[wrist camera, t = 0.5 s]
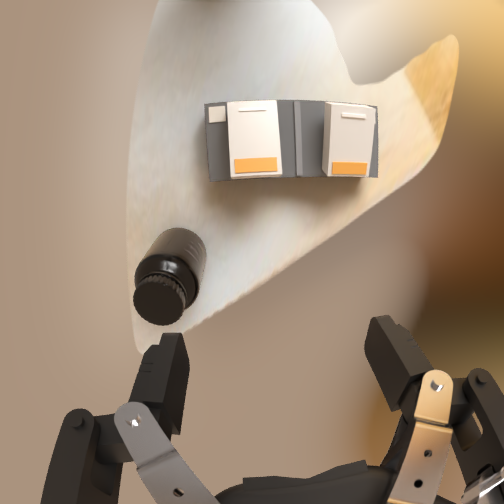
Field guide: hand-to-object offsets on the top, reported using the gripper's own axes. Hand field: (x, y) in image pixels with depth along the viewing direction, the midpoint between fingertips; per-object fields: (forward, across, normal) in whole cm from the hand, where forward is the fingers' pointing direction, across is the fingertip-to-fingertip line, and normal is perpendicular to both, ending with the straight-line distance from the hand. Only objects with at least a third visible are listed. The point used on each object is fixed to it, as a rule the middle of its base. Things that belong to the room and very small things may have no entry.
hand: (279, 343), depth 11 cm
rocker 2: (+17, -9, -8) cm, 21 cm away
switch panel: (+23, -5, -7) cm, 25 cm away
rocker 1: (+17, 0, -8) cm, 19 cm away
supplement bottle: (+23, +9, +6) cm, 26 cm away
